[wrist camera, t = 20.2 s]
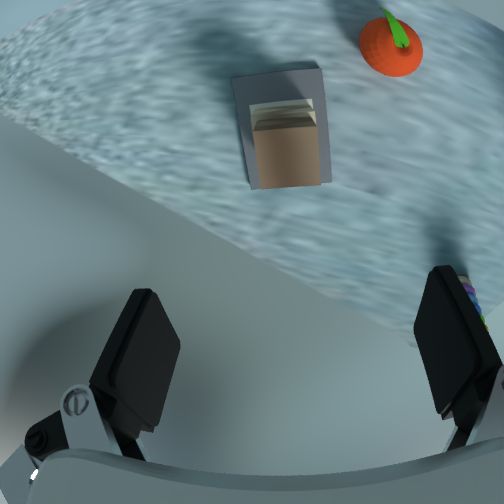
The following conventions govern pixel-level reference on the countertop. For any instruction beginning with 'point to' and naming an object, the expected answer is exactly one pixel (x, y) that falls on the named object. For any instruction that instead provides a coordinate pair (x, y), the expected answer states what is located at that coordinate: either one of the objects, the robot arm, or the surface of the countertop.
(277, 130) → the walnut cube
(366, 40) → the clementine
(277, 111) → the maple cube
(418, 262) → the countertop surface
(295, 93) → the board
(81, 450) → the robot arm
